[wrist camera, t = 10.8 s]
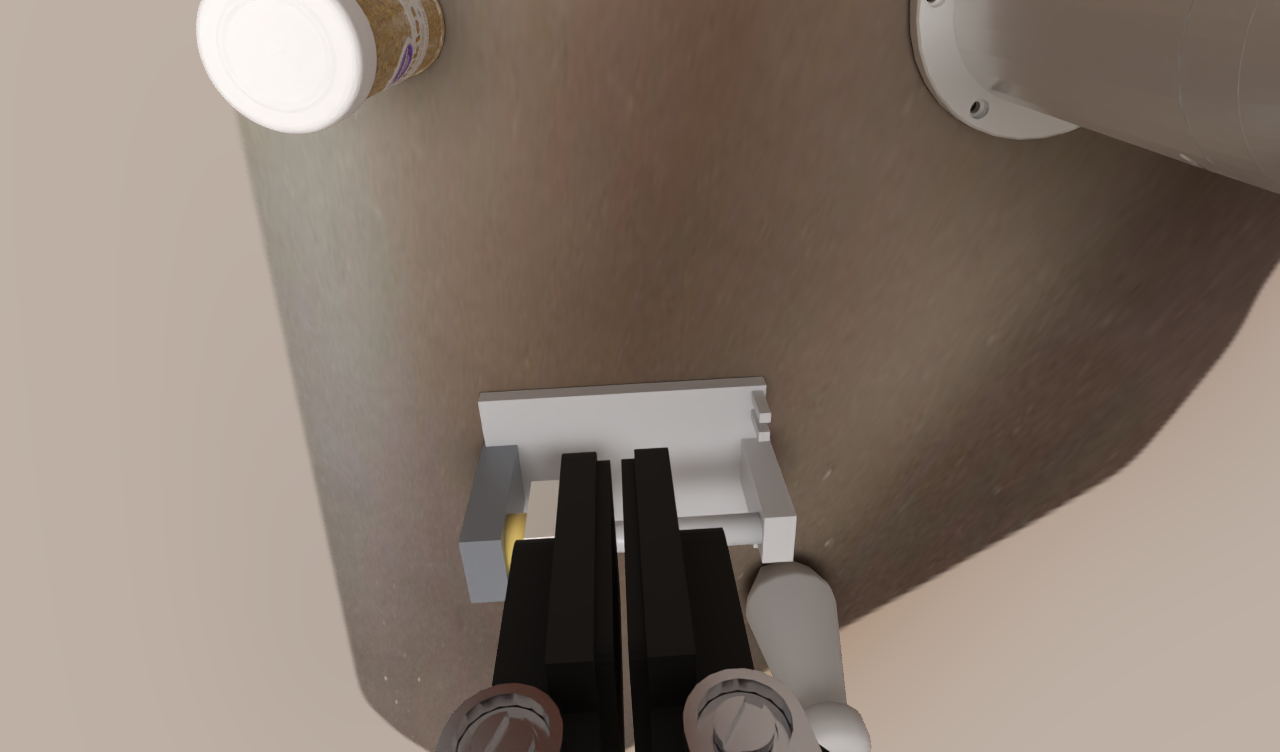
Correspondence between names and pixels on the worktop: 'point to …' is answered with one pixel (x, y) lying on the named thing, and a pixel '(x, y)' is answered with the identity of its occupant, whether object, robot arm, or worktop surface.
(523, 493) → the slider rail rig
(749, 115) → the worktop surface
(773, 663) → the salt shaker
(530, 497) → the square collar block
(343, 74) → the sprinkles bottle
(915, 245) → the worktop surface
